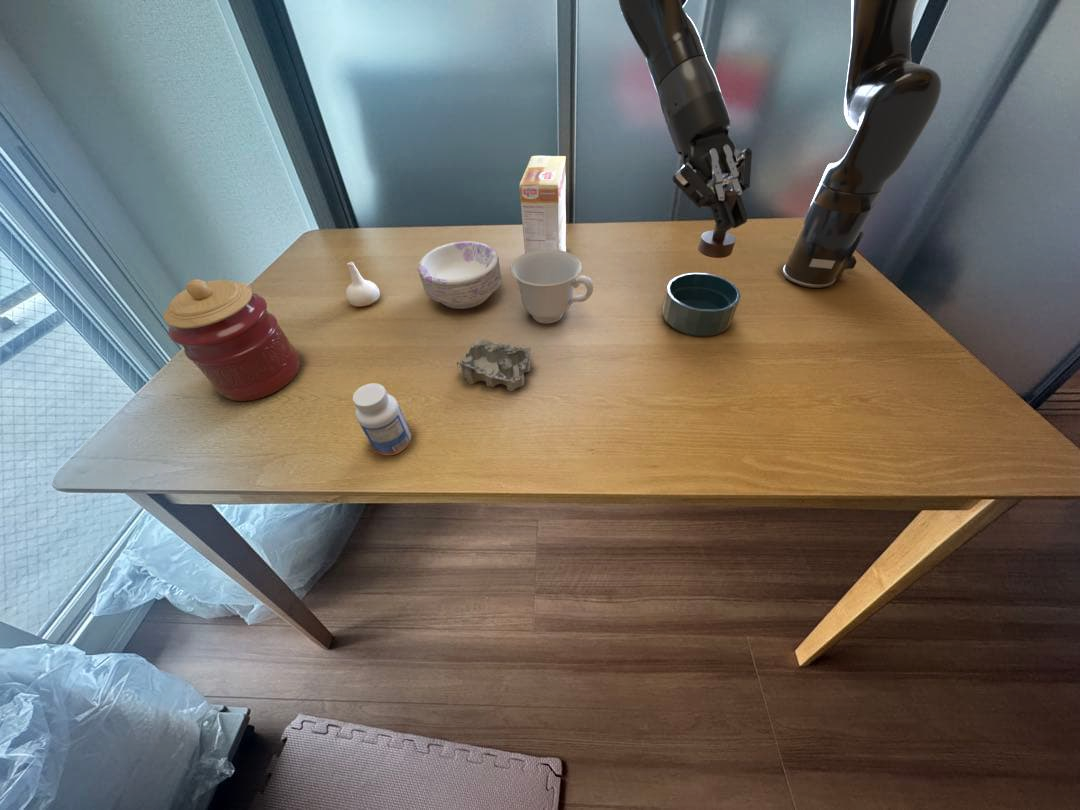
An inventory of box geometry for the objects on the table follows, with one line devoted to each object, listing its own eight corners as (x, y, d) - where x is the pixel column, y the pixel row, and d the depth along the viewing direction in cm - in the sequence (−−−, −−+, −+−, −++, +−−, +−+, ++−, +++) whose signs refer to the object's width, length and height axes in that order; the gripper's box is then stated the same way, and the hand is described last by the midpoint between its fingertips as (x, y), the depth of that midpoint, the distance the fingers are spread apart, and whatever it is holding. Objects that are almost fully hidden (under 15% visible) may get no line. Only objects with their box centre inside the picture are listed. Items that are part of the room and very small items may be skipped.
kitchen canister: (222, 363, 72) (148, 270, 59) (301, 342, 76) (246, 249, 63) (215, 413, 64) (126, 319, 51) (303, 387, 67) (241, 292, 54)
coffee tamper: (722, 240, 66) (739, 183, 60) (738, 255, 63) (757, 197, 57) (692, 244, 66) (706, 187, 60) (706, 260, 62) (722, 201, 56)
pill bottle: (377, 428, 61) (352, 380, 54) (414, 424, 61) (394, 376, 54) (369, 458, 57) (342, 411, 50) (409, 455, 57) (387, 407, 50)
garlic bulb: (357, 313, 81) (341, 276, 75) (344, 301, 84) (328, 264, 78) (387, 301, 84) (373, 264, 78) (373, 288, 87) (359, 252, 81)
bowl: (712, 295, 80) (720, 269, 76) (743, 332, 72) (753, 305, 68) (652, 303, 79) (657, 277, 75) (676, 342, 71) (683, 315, 67)
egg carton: (457, 382, 67) (452, 363, 64) (477, 353, 71) (473, 333, 68) (519, 395, 64) (517, 376, 61) (535, 363, 69) (534, 344, 66)
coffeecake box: (536, 250, 95) (530, 155, 81) (567, 251, 94) (567, 154, 80) (525, 285, 85) (517, 184, 71) (560, 287, 84) (559, 184, 70)
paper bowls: (412, 310, 81) (400, 272, 75) (451, 271, 90) (444, 235, 85) (481, 325, 77) (474, 287, 71) (515, 283, 86) (512, 246, 80)
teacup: (573, 347, 71) (574, 297, 64) (502, 322, 77) (496, 273, 70) (604, 311, 78) (609, 262, 71) (537, 290, 84) (535, 243, 76)
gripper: (671, 96, 53) (718, 228, 54) (749, 80, 57) (790, 203, 58) (639, 135, 60) (681, 250, 61) (710, 118, 64) (747, 226, 66)
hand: (734, 226), depth 60 cm, fingers closed on coffee tamper
